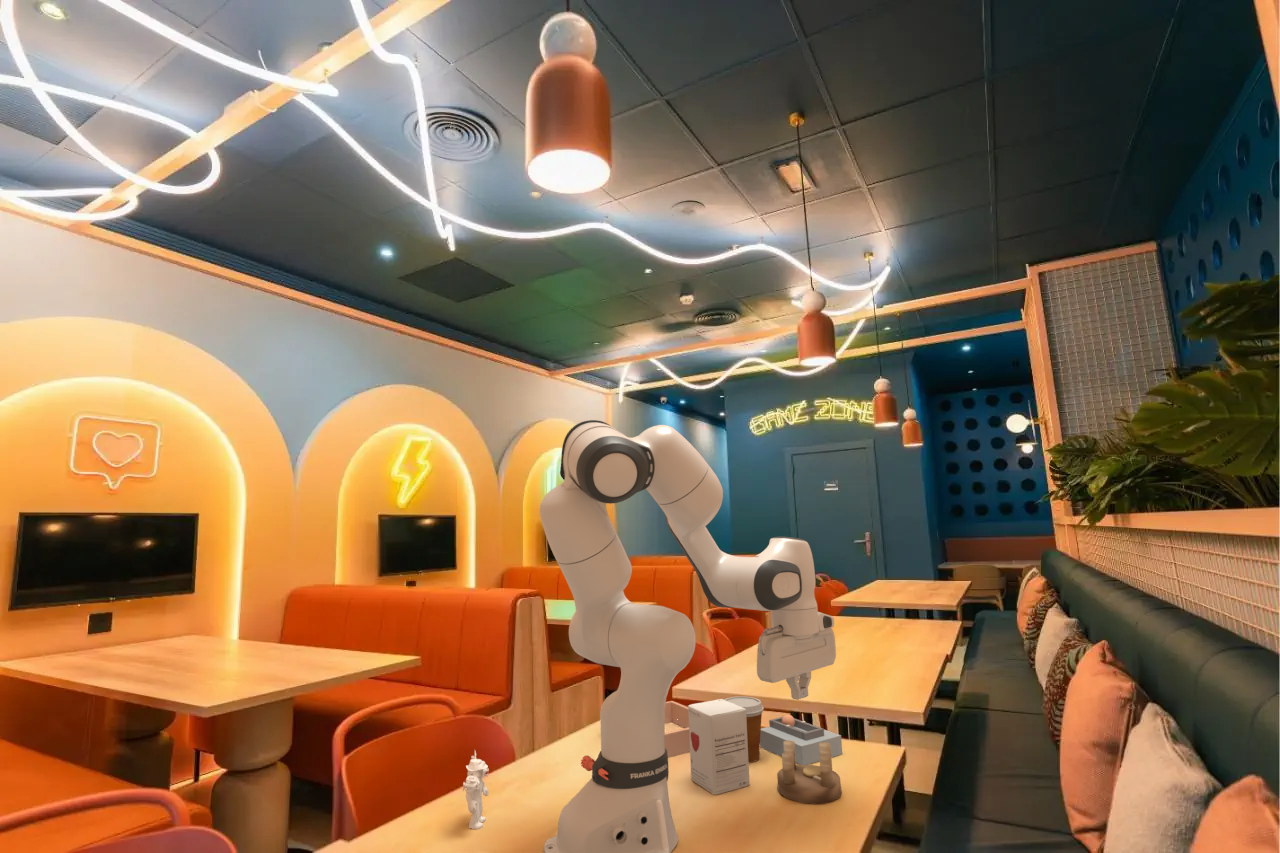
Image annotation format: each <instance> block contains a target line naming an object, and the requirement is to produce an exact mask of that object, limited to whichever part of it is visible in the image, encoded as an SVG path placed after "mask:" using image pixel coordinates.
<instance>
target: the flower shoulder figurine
mask: <svg viewBox="0 0 1280 853" xmlns="http://www.w3.org/2000/svg"><path fill="white" fill-rule="evenodd" d="M465 767H466V769H467V773H466V775H467V777H466V779H465V781H463V784H462V786H463V787H462V791H463V792H466V793H465V798H466V799H465V800H466V802H467V808H468V811H469V813H471V817H470V820H469V823H468V829H469V828H472V829H471V830H480V829H482V828H483V826H484V824H483V823H484V822H486V820H487V819H486V816H482V815H483V808H484V807H483V796H484V797H488V796H489V788H487V786H486V785H485V782H484V779H485V777H487V778H488V776H489V773H488V772H489V771H490V770H489V768H488V767H489V766H488V765H487V764H486V762H485V760H482V759H480V758H477V752H476V750H474V755H471V759H470V761H469V764H468V765H465ZM486 773H487V774H486Z"/></svg>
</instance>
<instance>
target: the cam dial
mask: <svg viewBox="0 0 1280 853" xmlns="http://www.w3.org/2000/svg"><path fill="white" fill-rule="evenodd" d="M819 748H820V761H819V765H813V764H808V765H799V764H797V763H796V759H795V743H794V741H790V740H786V741H784V753H783V754H782V757H781V762H782V763H781V764H782V768H781V769H780V770H778V772H777V774H776V775H777V777H776V778H777V790H778V792H779V794H781V796H783V797H785V798H786V799H788V800H791V801H795V802H799V803H804V804H825V803H830V802H833V801H835V800H838V799H839V798H840V797H841V795H842V786H841V785H842V784H841V777H840V775H839V774H838V773H837V772H836V771H834V770H833V761H832V758H833V757H832V758H831V744H830V743H826V742H822V743H819Z"/></svg>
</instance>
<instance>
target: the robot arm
mask: <svg viewBox="0 0 1280 853" xmlns="http://www.w3.org/2000/svg"><path fill="white" fill-rule="evenodd" d="M560 459H561V460H560V471H559V475H560V477H561V479H562V480H563V481H562V483H560V484H558V485H557V486H555V487H553V488H552V489H550V491H548V492H547V493H546V494H545V495H544V497H543V498H542V500H541V502H540V505H539V516H540V520H541V524H542V528H543V530H544V534H545V537H546V540H547V542H548V545H549V548H550V550H551V551H552V554H553V556H554V558H555V559H554V560H556V562H557V564H558V566H559V568H560V571H561V572H562V573H561V574H562V575H563V576H564V579H565V581H566V583H567V585H568V588H569V590H570V592H571V594H572V597H573V600H574V607H575V612H574V613H573V615H572V617H571V619H570V622H569V626H568V639H569V644H570V646H571V648H572V649H573V651H574V652H575V653H576V654H577V655H579V656H580V657H582V658H585V659H587V660H588V661H590V662H592V663H595V664H598V665H604V666H605V665H606V666H611V667H615V668H616V667H617V668H619V669H620V672H621V674H620V681H619V685H618V687H617V689H616V690H615V691H613V692H612V693H611V694H610V695H608V696H607V697H606V698H605V699H604V700H603V703H602V704H601V707H600V712H599V714H600V716H599V719H600V749H601V750H600V751H599V753H598V755H597V758H596V760H595V759H594V758H592V757H591V756H589V755H584V756H583V757H582V759H581V760H580V765H581V767H582V768H583V769H584V770H586V771H587V772H591V778H590V779H589V780H588V781H587V782H586V783H585V785H584V786H582V788H581V789H580V790H579V791H578V792H577V793H576V794H575V795H574V796H573V797H572V799H571V800H569V801H568V802H567V803H566V804H565V805H564V806H563V808H562V810H561V812H560V815H559V819H558V824H557V825H558V826H557V833H556V835H555V836H552V837H549V838H548V839H546V840H545V842H544V846H543V853H672V851H673V850H674V849H675V848H676V846H677V844H678V841H679V834H678V832H677V830H676V826H675V823H674V818H673V813H672V809H671V802H670V798H669V797H670V796H669V788H668V780H669V757H668V753H667V749H666V748H665V733H666V732H665V726H666V725H665V724H666V723H665V702H667V697H668V693H669V690H670V687H671V685H672V683H673V681H674V680H675V677H676V676H677V675H678V674H679V673H680V672H681V671H683V669H685V668H686V667H687V665H688V664H689V663H690V661H691V660H692V658H693V656H694V652H695V650H696V632H695V629H694V625H693V623H692V621H691V620H690V618H689V617H688V616H687V615H686V614H685V613H682V612H680V611H677V610H675V609H673V608H669V607H667V606H664V605H655V604H644V603H643V604H642V603H633V602H632V601H630V600H629V599H628V598H627V597H626V594H625V592H624V590H625V589H626V587H627V586H628V584H629V582H630V580H631V576H632V572H633V569H632V568H633V567H632V563H631V561H630V559H629V557H628V555H627V552H626V549H625V547H624V546H623V544H622V542H621V539H620V537H619V535H618V533H617V530H616V528H615V526H614V525H613V522H612V521H611V518H610V516H609V514H608V510H607V504H611V505H612V504H618V503H621V502H624V501H627V500H628V499H630V498H632V497H633V496H635V495H636V494H637V493H639V492H641V491H643V490H646V491H647V492H648V494H650V496H651V497H652V498H653V500H654V501H655V502H656V503H657V505H658V506H659V508H660V509H661V510H662V512H663V513H664V514H665V520H666V521H665V522H666V524H667V525H666V526H667V528H668V530H669V531H670V533H671V534H672V536H673V538H674V540H675V541H676V542H677V544H678V546H679V548H680V549H681V551H682V552H683V554H684V556H686V558H687V560H688V562H689V563H690V565H691V566H692V567H693V569H694V571H695V572H696V575H697V576H698V579H699V582H700V585H701V588H702V592H703V594H704V595H705V597H706V599H707V600H708V601H709V602H710V603H711V604H712V605H714V606H715V607H718V608H722V609H723V608H729V609H732V608H733V609H734V608H737V609H743V610H744V609H745V610H751V611H752V610H754V611H762V612H770V623H771V627H768V628H764V629H763V631H762V633H761V635H760V636H759V639H758V644H757V648H756V649H757V650H756V652H757V653H756V675H757V677H758V679H759V680H760V681H762V682H766V683H771V684H774V683H778V682H781V681H785V682H787V684H788V687H789V689H790V694H791V696H790V697H791V698H792V700H801V699H805V698H808V697H809V685H810V682H811V679H812V672H814V671H816V670H817V671H818V670H819V669H823V668H825V667H830V666H832V665H834V664H835V661H836V656H837V652H836V651H837V650H836V649H837V648H836V647H837V646H836V636H835V631H834V630H833V628H834V626H835V617H834V616H832V615H829V614H826V613H823V612H820V611H818V603H817V600H816V596H815V588H816V573H815V572H816V570H815V563H814V562H815V561H814V558H813V557H814V556H813V553H812V549H811V547H810V544H809V543H808V541H806V540H805V539H802V538H798V537H793V536H792V537H789V536H774V537H771V538H770V539H769V542H768V543H769V544H768V545H767V547H766V548H765V549H764V550H763V551H762V552H760V553H758V554H756V555H755V556H738V555H737V556H736V555H732V554H728V553H726V552H724V551H722V550H721V549H720V548H719V546H718V545H717V543H716V541H715V539H714V538H713V536H712V535H711V533H710V532H709V530H708V528H707V525H709V524H710V522H711V521H713V519H714V518H715V517H716V515H717V514H718V512H719V510H720V508H721V507H722V503H723V499H724V489H723V487H722V484H721V482H720V479H719V478H718V476H717V474H716V473H715V471H714V470H713V469H712V467H711V466H710V465H709V463H708V462H707V461H706V460H705V458H704V456H702V454H700V453H699V451H698V450H697V449H696V448H695V447H694V446H693V444H692V443H690V441H688V439H686V438H685V437H684V436H683V435H682V433H680V432H678V431H677V430H676V429H675V428H674V427H672V426H670V425H666V424H656V425H654V426H653V425H652V426H651V427H648V428H646V429H645V430H643V431H642V432H641V433H640V434H639V435H636V436H634V437H630V436H629V437H628V436H626V435H625V434H624V433H622V432H621V431H620V430H618V429H617V428H615V427H614V426H612V425H611V424H609V423H607V422H604V421H602V420H597V419H595V420H594V419H589V420H584V421H581V422H579V423H576V424H575V425H574V426H573V427H571V428H570V429H569V431H568V432H567V434H566V435H565V437H564V440H563V443H562V447H561V458H560Z"/></svg>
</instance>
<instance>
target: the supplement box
mask: <svg viewBox="0 0 1280 853" xmlns="http://www.w3.org/2000/svg"><path fill="white" fill-rule="evenodd" d="M687 707H688V714H689V738H690V752H689V755H690V756H689V757H690V758H689V759H690V778H691V779H690V780H691V781H692V782H694V783H695V784H697V785H699V786H700V787H701V788H703V789H704V790H706V791H708V792H709V793H711V794H712V795H714V796H716V795H720V794H723V793H727V792H731V791H735V790H737V789H738V790H739V789H742V788H745V787H749V786H750V785H751V784H750V770H749V769H750V768H749V767H750V766H749V764H750V762H748V742H747V720H746V709H745V708H742V707H740V706H737V705H736V704H734V703H730V702H728V701H726V700H725V699H723V698H717V699H714V700H709V701H703V702H697V703H691V704H689V705H687Z"/></svg>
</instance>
